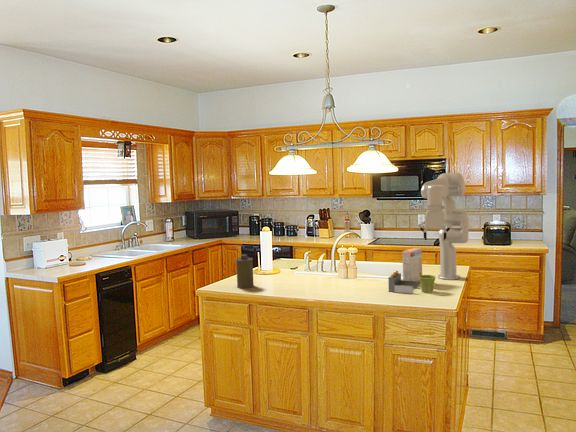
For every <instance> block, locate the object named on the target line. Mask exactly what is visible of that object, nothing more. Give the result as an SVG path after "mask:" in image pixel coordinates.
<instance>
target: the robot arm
mask: <svg viewBox="0 0 576 432" xmlns="http://www.w3.org/2000/svg"><path fill="white" fill-rule="evenodd" d="M466 188H467V187H466V184H465V179H464V177H463V174H462V173H460V172H446V173H445V172H444V173H441V174H439V175H438V176H437V178H436V179H433V180H429V181H426V182H424V183H423V185H422V187H421V189H420V194H421V197H422V198H423V199H427V204H426V205H427V210H425V211H426V212H425V217H424V221H423V222H421V223H418V225H417V226H418V228H419V229H420V231H421V232H423V239H424V240H425V241H427V239H428V238H427V232H428V230H439V231H438V240H439V249H440V251H439V252H440V253H439V255H440V256H439V257H440V261H439V262H440V263H439V264H440V265H439V267H440V268H439V269H440V274H438V275H437V278H438V279H440V280H448V281H449V280H451V281H452V280H458V279H460V276H459V274H457V249H456V248H455V246H454V244H466V243H468V241H469V215H468V212H467V211H466V210H462V209H461V210H459V209H456V207H457V206H456V205H457V203H456V201H455V199H454V198H453V197H461V196H464V195H465V194H466V190H467V189H466ZM423 225H424V228H423V227H422V226H423ZM446 226H448V227H446ZM452 226H456V227H452Z"/></svg>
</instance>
